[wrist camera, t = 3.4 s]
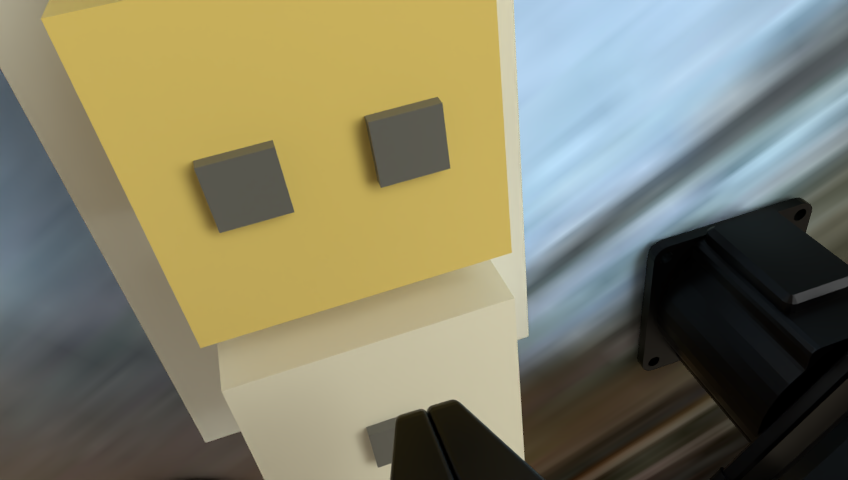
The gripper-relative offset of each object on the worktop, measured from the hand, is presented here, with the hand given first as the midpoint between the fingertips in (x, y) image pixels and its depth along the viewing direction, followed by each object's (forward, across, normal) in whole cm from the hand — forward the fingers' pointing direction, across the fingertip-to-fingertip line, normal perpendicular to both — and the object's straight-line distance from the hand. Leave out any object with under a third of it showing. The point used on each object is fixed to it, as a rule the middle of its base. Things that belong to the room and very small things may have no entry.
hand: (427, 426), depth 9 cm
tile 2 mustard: (+7, +1, -3) cm, 8 cm away
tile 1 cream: (+7, 0, +3) cm, 8 cm away
